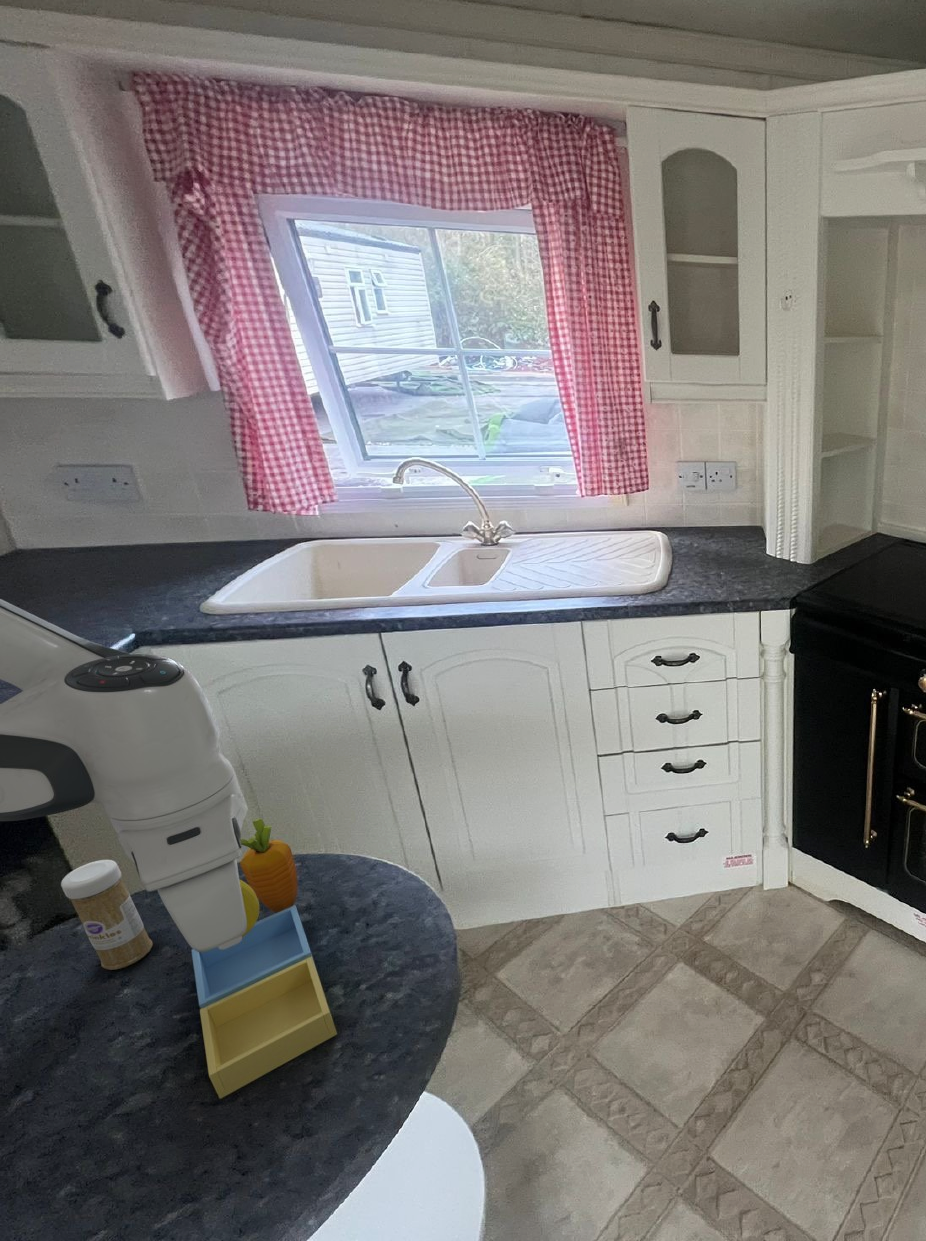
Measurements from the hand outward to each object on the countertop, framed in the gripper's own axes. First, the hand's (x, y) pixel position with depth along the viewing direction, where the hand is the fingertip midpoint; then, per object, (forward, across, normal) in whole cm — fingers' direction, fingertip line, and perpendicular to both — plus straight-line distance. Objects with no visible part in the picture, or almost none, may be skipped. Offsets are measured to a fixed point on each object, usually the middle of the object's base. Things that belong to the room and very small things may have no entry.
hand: (226, 922), depth 71 cm
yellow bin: (+17, 0, 0) cm, 17 cm away
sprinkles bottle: (+17, -25, -11) cm, 32 cm away
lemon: (+3, 0, 0) cm, 3 cm away
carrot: (+17, -19, +4) cm, 26 cm away
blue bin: (+17, -11, 0) cm, 20 cm away
